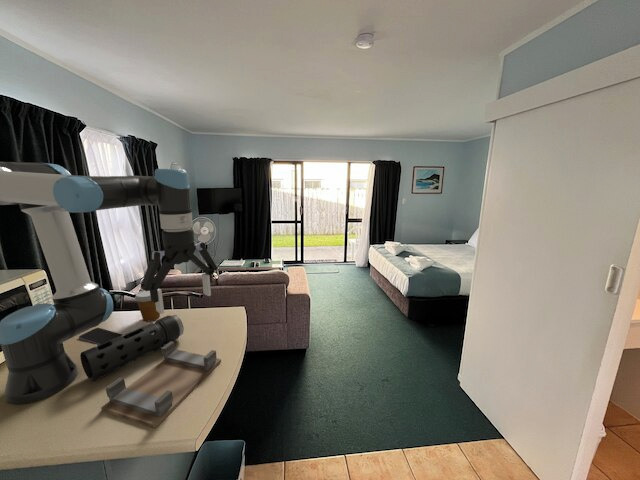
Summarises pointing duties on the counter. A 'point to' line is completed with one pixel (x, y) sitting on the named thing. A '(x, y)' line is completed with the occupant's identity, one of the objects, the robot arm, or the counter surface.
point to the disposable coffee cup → (147, 306)
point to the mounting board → (160, 386)
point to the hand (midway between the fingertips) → (185, 302)
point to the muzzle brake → (130, 346)
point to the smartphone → (99, 336)
